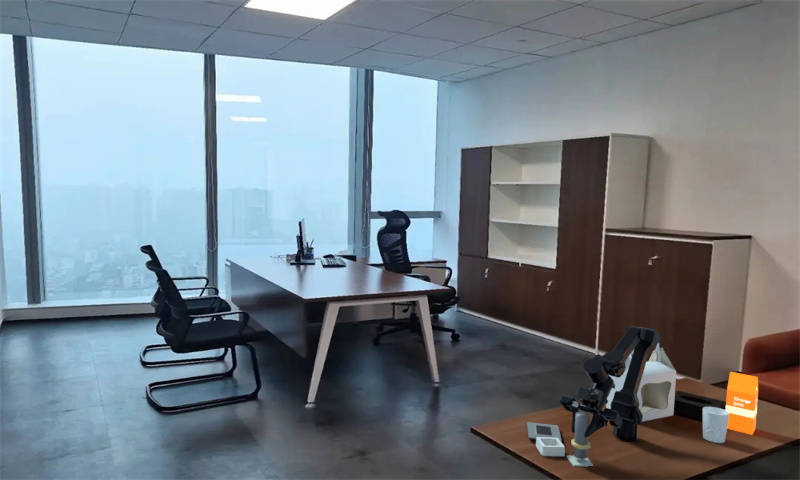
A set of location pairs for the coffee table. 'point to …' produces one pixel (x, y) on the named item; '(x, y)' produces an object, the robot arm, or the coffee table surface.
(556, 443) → the frame
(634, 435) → the robot arm
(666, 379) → the gable box
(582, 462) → the rubber pad
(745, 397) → the orange juice
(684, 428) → the coffee table surface
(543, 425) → the electrical outlet
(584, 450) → the grey tapered rounded cylinder
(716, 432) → the white cup
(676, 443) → the coffee table surface
